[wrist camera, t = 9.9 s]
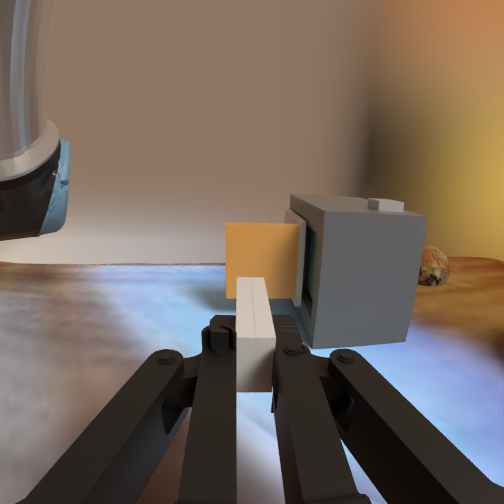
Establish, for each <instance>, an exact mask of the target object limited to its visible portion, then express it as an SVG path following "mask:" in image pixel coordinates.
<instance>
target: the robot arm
mask: <svg viewBox="0 0 504 504" xmlns="http://www.w3.org/2000/svg"><path fill="white" fill-rule="evenodd" d="M56 4H57V0H0V241H4V240H11V239H20V238H28V237H39V236H40V235H43V234H48V233H53V232H57V231H58V230H60V229H61V228H62V227H63V225H64V223H65V219H66V213H67V201H68V182H69V171H70V143H69V141H66V140H63V139H59V133H58V129H57V127H56V125H55V124H54V123H53V122H52V121H50V120H49V119H47V118H46V96H47V77H48V63H49V52H50V43H51V35H52V28H53V21H54V16H55V9H56ZM201 333H202V353H201V354H199V355H197V356H194V357H189V358H183V356H182V354H181V353H179V352H178V351H175V350H170V349H163V350H159V351H156V352H154V353H153V354H151V355H150V356H149V357H148V358H147V360H146V361H145V362H144V363H143V364H142V365H141V366H140V367H139V369H138V370H137V371H136V372H135V373H134V374H133V375H132V377H131V378H130V379H129V380H128V381H127V382H126V383H125V384H124V386H123V387H122V388H121V389H120V390H119V391H118V392H117V394H116V395H115V396H114V397H113V398H112V399H111V400H110V401H109V403H108V404H107V405H106V406H105V407H104V408H103V409H102V411H101V412H100V413H99V414H98V415H97V416H96V417H95V419H94V420H93V421H92V422H91V423H90V424H89V425H88V427H87V428H86V429H85V430H84V431H83V432H82V433H81V435H80V436H79V437H78V438H77V439H76V440H75V441H74V443H73V444H72V445H71V446H70V447H69V448H68V449H67V451H66V452H65V453H64V454H63V455H62V456H61V458H60V459H59V460H58V461H57V462H56V463H55V464H54V466H53V467H52V468H51V469H50V470H49V471H48V473H47V474H46V475H45V476H44V477H43V478H42V479H41V481H40V482H39V483H38V484H37V485H36V486H35V488H34V489H33V490H32V491H31V492H30V493H29V495H28V496H27V497H26V498H25V499H23V500H21V501H19V502H17V503H16V504H135V503H136V502H137V500H138V498H139V496H140V495H141V493H142V491H143V490H144V488H145V486H146V485H147V483H148V481H149V479H150V478H151V476H152V474H153V472H154V471H155V469H156V467H157V466H158V464H159V462H160V460H161V459H162V457H163V455H164V453H165V452H166V450H167V448H168V446H169V445H170V443H171V441H172V439H173V438H174V436H175V434H176V432H177V431H178V429H179V427H180V425H181V423H182V422H183V420H184V418H185V416H186V415H187V413H188V410H189V407H192V412H191V418H190V424H189V430H188V436H187V443H186V449H185V456H184V462H183V469H182V475H181V482H180V489H179V496H178V500H177V502H175V503H174V504H237V470H236V392H272V386H273V397H272V408H271V413H274V418H275V425H276V433H277V441H278V449H279V457H280V464H281V472H282V480H283V488H284V496H285V503H286V504H372V503H371V501H370V499H369V497H368V496H367V495H366V494H360V493H359V492H358V491H357V488H356V485H355V482H354V479H353V476H352V473H351V470H350V467H349V464H348V461H347V458H346V455H345V452H344V449H343V446H342V443H341V440H342V441H343V443H344V444H345V445H346V447H347V448H348V450H349V451H350V452H351V454H352V455H353V457H354V458H355V459H356V461H357V462H358V464H359V465H360V466H361V468H362V469H363V471H364V472H365V473H366V475H367V476H368V478H369V479H370V480H371V482H372V483H373V484H374V486H375V487H376V489H377V490H378V491H379V493H380V494H381V495H382V497H383V498H384V499H385V501H386V502H387V503H388V504H504V487H502V486H499V485H497V484H495V483H493V482H492V481H490V480H489V479H488V478H487V477H486V476H485V475H484V474H483V473H482V472H481V471H480V470H479V469H478V468H477V467H476V466H475V465H474V464H473V463H472V462H471V461H470V460H469V459H468V458H467V457H466V456H465V455H464V454H463V453H462V452H461V451H460V450H459V449H457V448H456V447H455V446H454V445H453V444H452V443H451V442H450V441H449V440H448V439H447V438H446V437H445V436H444V435H443V434H442V433H441V432H440V431H439V430H438V429H437V428H436V427H435V426H434V425H433V424H432V423H431V422H430V421H429V420H428V419H427V418H425V417H424V416H423V415H422V414H421V413H420V412H419V411H418V410H417V409H416V408H415V407H414V406H413V405H412V404H411V403H410V402H409V401H408V400H407V399H406V398H405V397H404V396H403V395H402V394H401V393H400V392H399V391H398V390H397V389H395V388H394V387H393V386H392V385H391V384H390V383H389V382H388V381H387V380H386V379H385V378H384V377H383V376H382V375H381V374H380V373H379V372H378V371H377V370H376V369H375V368H374V367H373V366H372V365H371V364H370V363H369V362H368V361H367V360H365V359H364V358H363V357H362V356H361V355H360V354H359V353H357V352H356V351H353V350H350V349H337V350H335V351H333V352H332V353H331V354H330V357H329V358H326V357H320V356H315V355H313V354H311V352H310V350H309V348H308V347H307V346H306V345H304V344H302V341H301V338H300V335H299V332H298V329H297V326H296V323H295V320H294V319H293V318H292V317H291V316H289V315H271V310H270V305H269V300H268V295H267V290H266V285H265V281H264V277H237V300H236V315H215V316H214V317H213V318H212V319H211V320H210V325H209V326H207V327H205V328H203V330H202V332H201ZM340 438H341V440H340Z"/></svg>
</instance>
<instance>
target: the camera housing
mask: <svg viewBox="0 0 504 504" xmlns="http://www.w3.org/2000/svg"><path fill="white" fill-rule="evenodd" d="M290 209H291V210H292V211H293V212H295V213H296V214H297V215H298V216H300V217H301V218H302V219H303V220H305V221H306V235H305V252H304V268H303V282H302V296H301V306H296V308H297V310H298V313H299V316H300V318H301V321H302V323H303V326H304V328H305V331H306V333H307V336H308V339H309V341H310V344H311V346H312V349H320V348H337V347H351V346H364V345H375V344H385V343H394V342H403V341H405V340H406V336H407V332H408V328H409V323H410V319H411V314H412V310H413V305H414V300H415V295H416V289H417V284H418V278H419V272H420V266H421V259H422V252H423V245H424V237H425V228H426V218H427V217H426V216H423V215H420V214H416V213H413V212H409V211H406V210H403V209H404V203H403V202H399V201H395V200H388V199H373V198H368V200H366V199H362V198H358V197H340V196H320V195H296V194H291V195H290Z"/></svg>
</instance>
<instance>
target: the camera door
mask: <svg viewBox="0 0 504 504" xmlns="http://www.w3.org/2000/svg"><path fill="white" fill-rule="evenodd" d="M305 235H306V221H305V220H303V219H302V218H301V217H300V216H298V215H297V214H296V213H295V212H293V211H292V210H291V209H285V221H284V224H281V223H280V224H279V223H226V299H237V277H264V281H265V285H266V290H267V295H268V299H292V301H293V303H294V306H301V296H302V282H303V268H304V252H305Z"/></svg>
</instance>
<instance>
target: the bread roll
mask: <svg viewBox="0 0 504 504" xmlns="http://www.w3.org/2000/svg"><path fill="white" fill-rule="evenodd" d="M448 276H449V262H448V260H447V258H446V256H445V255H444V254H443V253H442V252H441V251H439V250H438V249H437V248H435V247H433V246H429V245H425V246H423V252H422V259H421V266H420V272H419V278H418V284H421V285H426V286H438V285H441V284H443V283H444V282H445V281H446V280H447V279H448Z"/></svg>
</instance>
